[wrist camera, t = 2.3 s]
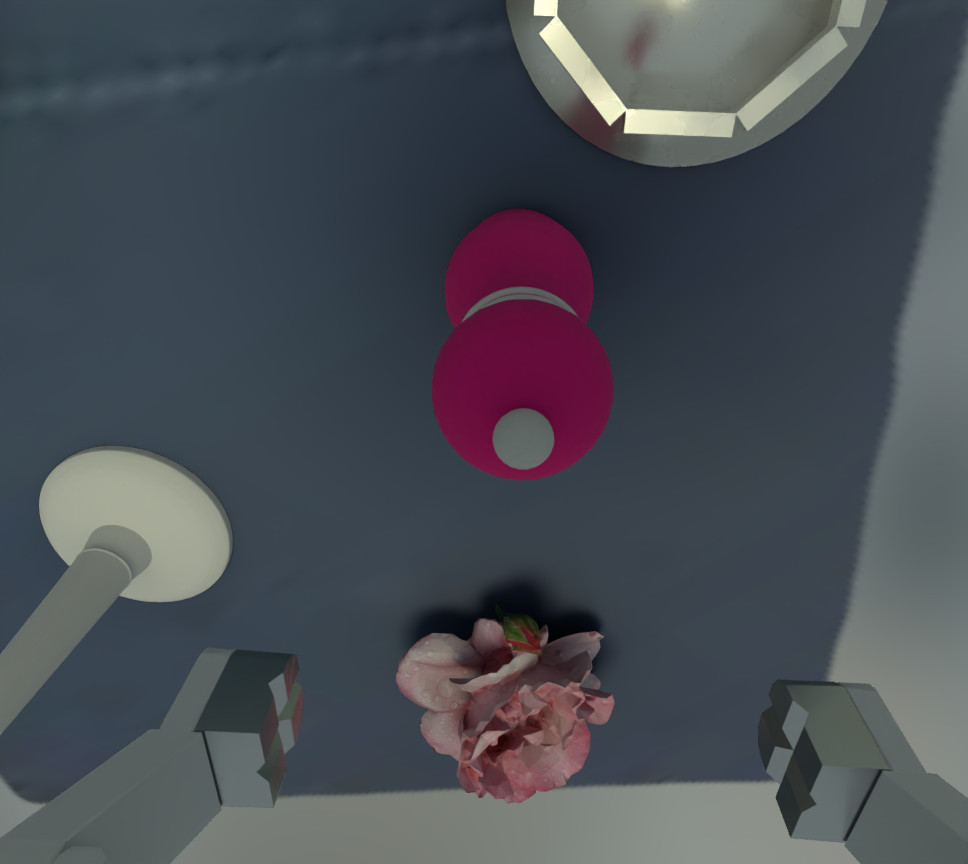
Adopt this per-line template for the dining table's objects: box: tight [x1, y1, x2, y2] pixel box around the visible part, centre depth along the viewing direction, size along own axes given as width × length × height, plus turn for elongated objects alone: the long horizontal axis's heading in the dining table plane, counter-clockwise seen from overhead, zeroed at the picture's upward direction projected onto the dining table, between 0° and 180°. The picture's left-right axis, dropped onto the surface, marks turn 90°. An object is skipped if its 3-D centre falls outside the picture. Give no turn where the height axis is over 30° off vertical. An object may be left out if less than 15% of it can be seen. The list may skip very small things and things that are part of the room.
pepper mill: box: [432, 209, 613, 480], centre depth 27 cm, size 7×7×20 cm
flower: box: [396, 603, 615, 803], centre depth 46 cm, size 15×15×10 cm
